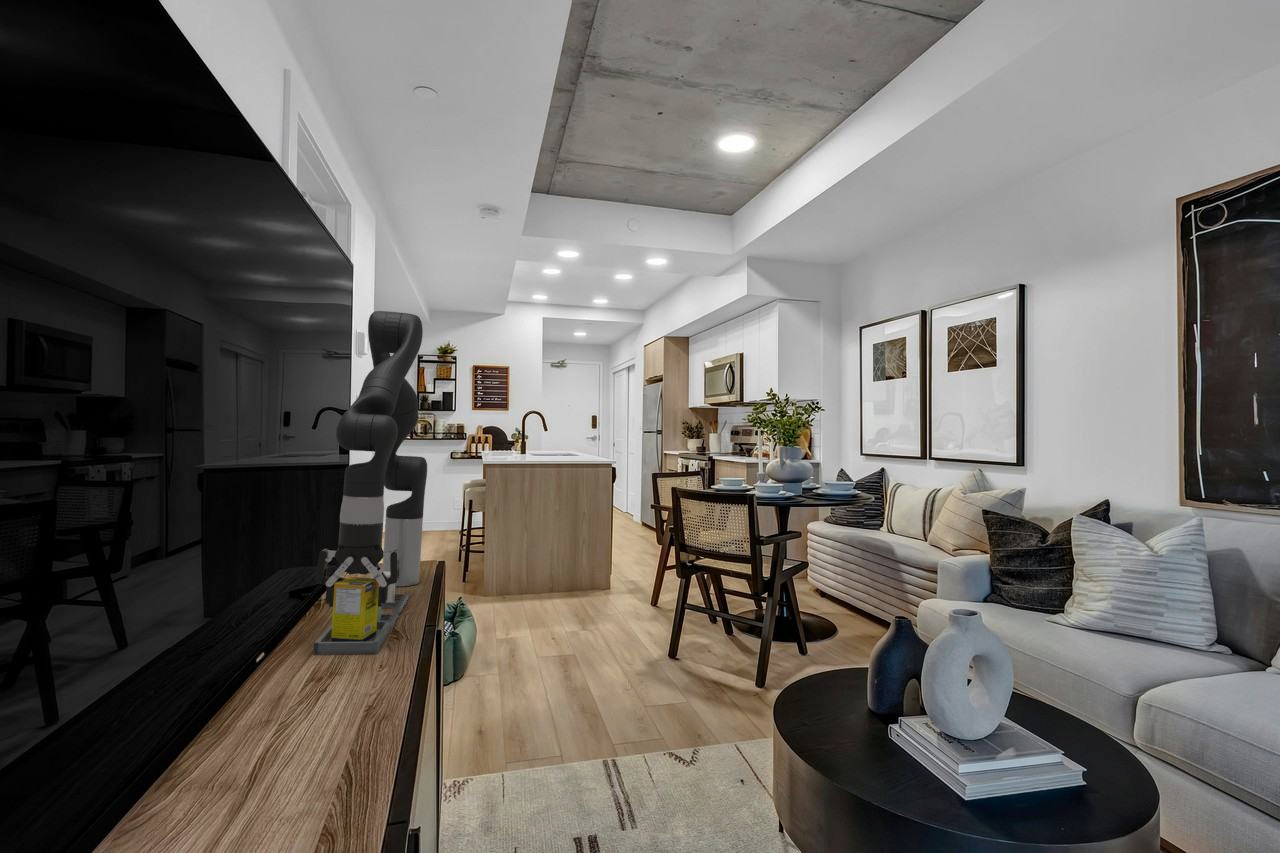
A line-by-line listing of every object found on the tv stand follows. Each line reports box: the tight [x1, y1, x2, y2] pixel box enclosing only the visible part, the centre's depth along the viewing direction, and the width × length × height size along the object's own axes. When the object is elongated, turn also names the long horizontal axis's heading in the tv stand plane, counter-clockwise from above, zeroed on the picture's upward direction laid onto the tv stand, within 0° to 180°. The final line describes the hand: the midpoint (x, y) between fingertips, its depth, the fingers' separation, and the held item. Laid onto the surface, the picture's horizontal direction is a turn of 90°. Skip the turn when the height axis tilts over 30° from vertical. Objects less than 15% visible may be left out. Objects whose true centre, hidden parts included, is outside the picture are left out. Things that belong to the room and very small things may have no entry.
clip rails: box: [381, 592, 410, 631], centre depth 138 cm, size 25×11×2 cm, turn 12°
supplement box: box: [331, 576, 379, 642], centre depth 120 cm, size 6×6×11 cm
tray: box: [312, 620, 391, 656], centre depth 120 cm, size 14×10×2 cm
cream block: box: [369, 571, 397, 602], centre depth 147 cm, size 4×5×7 cm
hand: (356, 605), depth 120 cm, fingers open, 8 cm apart
